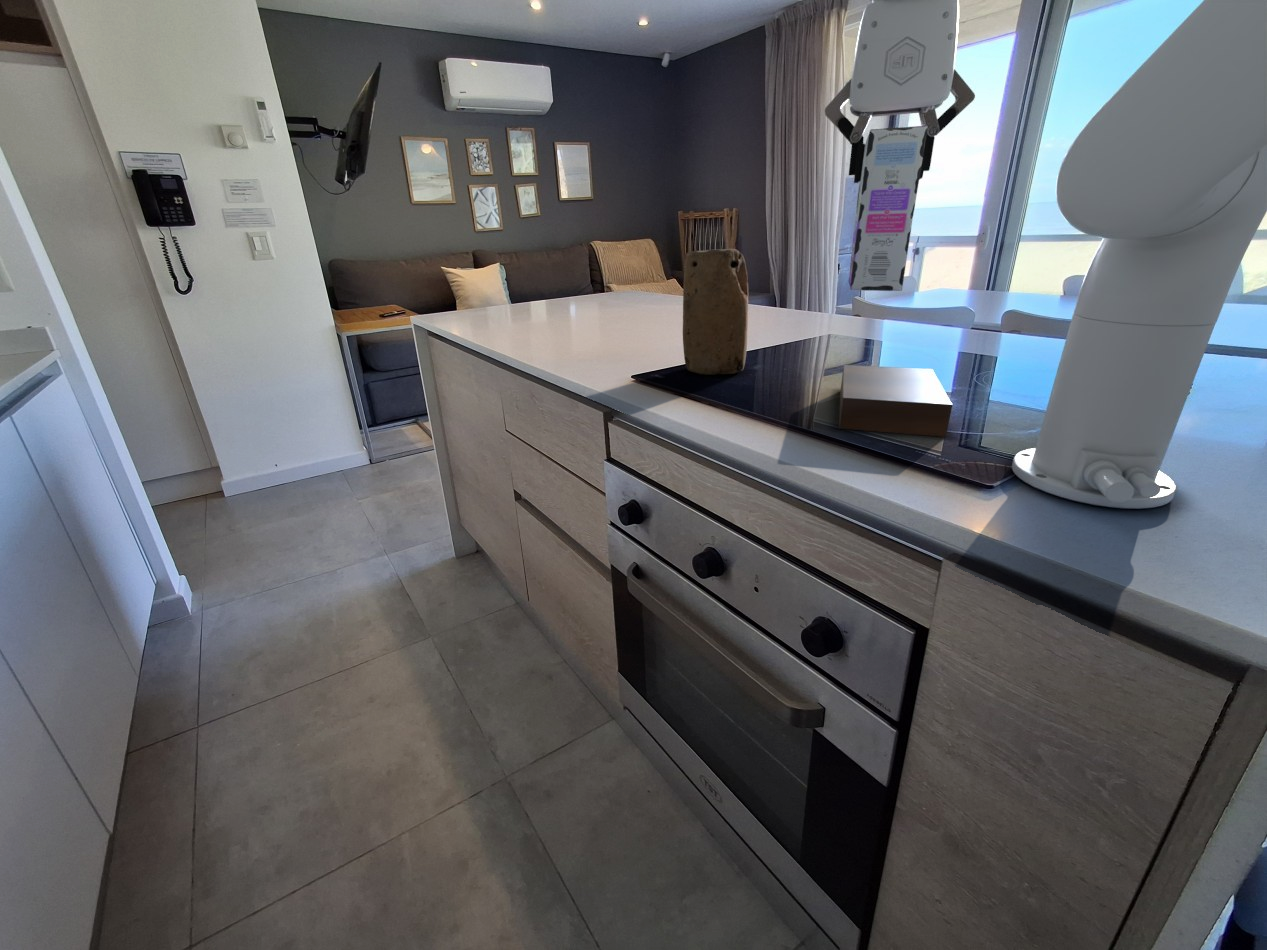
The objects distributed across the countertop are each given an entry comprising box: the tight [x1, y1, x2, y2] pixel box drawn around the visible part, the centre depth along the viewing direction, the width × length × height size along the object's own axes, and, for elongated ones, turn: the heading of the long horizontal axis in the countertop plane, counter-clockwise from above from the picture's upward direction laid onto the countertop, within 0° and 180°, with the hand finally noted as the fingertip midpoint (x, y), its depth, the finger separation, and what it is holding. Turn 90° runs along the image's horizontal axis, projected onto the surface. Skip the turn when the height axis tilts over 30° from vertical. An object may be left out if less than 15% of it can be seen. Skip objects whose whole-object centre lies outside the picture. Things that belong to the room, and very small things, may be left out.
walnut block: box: [838, 364, 953, 438], centre depth 76 cm, size 18×12×4 cm, turn 161°
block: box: [682, 248, 749, 376], centre depth 96 cm, size 11×8×20 cm
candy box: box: [848, 125, 928, 292], centre depth 68 cm, size 14×6×16 cm, turn 162°
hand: (887, 178), depth 67 cm, fingers closed on candy box, 5 cm apart
